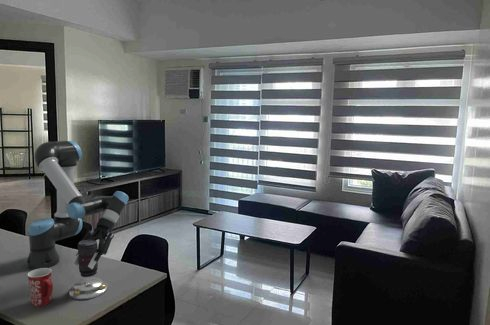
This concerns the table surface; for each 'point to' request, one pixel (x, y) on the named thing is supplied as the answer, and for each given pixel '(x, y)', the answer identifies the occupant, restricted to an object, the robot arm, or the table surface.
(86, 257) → the camera lens
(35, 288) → the mug
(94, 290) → the base
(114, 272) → the table surface
